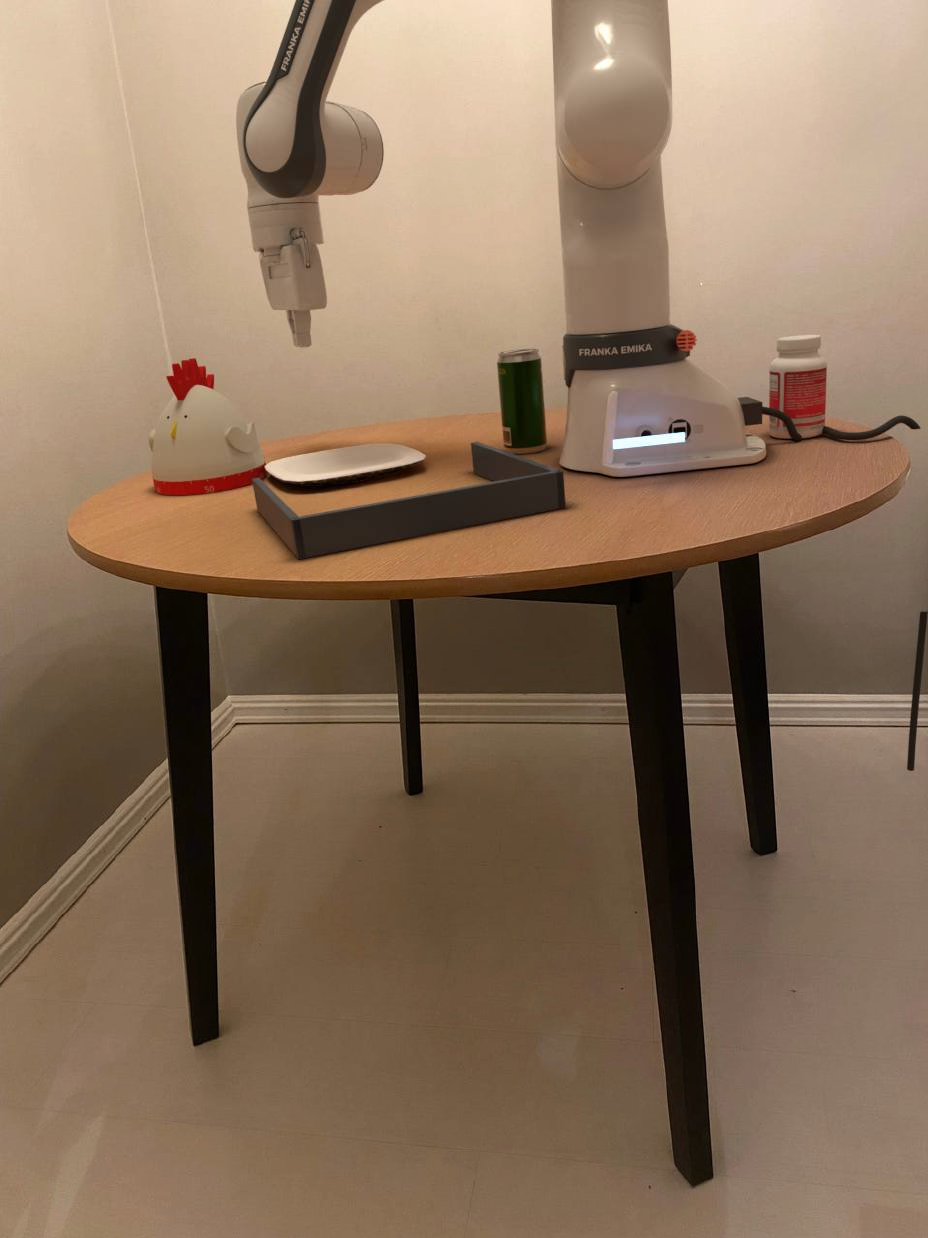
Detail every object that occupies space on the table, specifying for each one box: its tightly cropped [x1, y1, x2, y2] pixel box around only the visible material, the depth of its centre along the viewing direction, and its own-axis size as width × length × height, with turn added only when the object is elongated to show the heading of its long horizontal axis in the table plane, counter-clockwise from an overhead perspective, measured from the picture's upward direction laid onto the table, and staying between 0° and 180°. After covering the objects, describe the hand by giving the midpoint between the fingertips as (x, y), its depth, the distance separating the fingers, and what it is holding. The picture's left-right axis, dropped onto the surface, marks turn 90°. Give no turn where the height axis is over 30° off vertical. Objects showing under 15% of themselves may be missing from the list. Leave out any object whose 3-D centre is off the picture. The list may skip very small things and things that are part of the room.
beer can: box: [496, 348, 548, 455], centre depth 115 cm, size 5×5×12 cm
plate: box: [265, 442, 427, 487], centre depth 114 cm, size 18×18×2 cm
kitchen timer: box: [148, 357, 269, 496], centre depth 115 cm, size 14×14×15 cm
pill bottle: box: [768, 334, 828, 440], centre depth 108 cm, size 6×6×11 cm
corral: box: [252, 441, 567, 560], centre depth 93 cm, size 22×26×4 cm
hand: (302, 346), depth 122 cm, fingers closed
